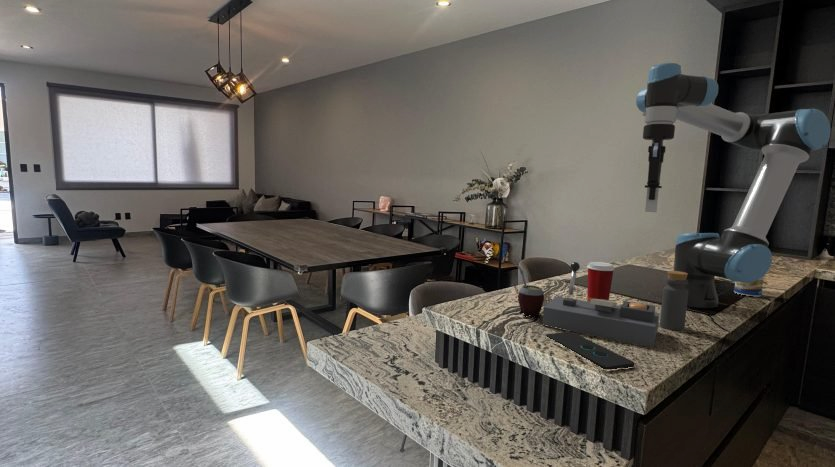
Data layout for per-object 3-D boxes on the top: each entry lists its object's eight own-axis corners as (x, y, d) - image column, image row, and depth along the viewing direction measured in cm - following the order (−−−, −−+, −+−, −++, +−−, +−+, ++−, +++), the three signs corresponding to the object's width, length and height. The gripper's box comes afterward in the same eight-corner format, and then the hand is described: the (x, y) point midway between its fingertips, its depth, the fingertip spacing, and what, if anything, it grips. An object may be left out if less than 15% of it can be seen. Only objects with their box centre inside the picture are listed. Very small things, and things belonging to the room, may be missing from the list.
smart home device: (605, 366, 92) (544, 333, 110) (604, 374, 92) (543, 340, 111) (636, 362, 95) (572, 330, 113) (636, 370, 95) (571, 337, 113)
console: (556, 313, 132) (558, 287, 131) (657, 331, 119) (660, 303, 118) (542, 325, 120) (544, 297, 120) (653, 347, 107) (656, 316, 106)
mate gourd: (547, 315, 130) (550, 263, 128) (533, 321, 124) (536, 266, 122) (523, 309, 135) (527, 259, 133) (509, 315, 129) (512, 262, 127)
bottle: (687, 331, 120) (694, 275, 118) (663, 329, 121) (669, 273, 119) (679, 324, 126) (685, 271, 124) (656, 322, 127) (662, 269, 125)
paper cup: (611, 308, 140) (615, 263, 138) (610, 315, 133) (614, 267, 131) (584, 304, 143) (587, 260, 141) (581, 310, 136) (585, 264, 134)
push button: (629, 310, 118) (630, 301, 117) (646, 313, 115) (647, 304, 115) (627, 314, 114) (628, 305, 114) (645, 317, 112) (646, 308, 112)
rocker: (596, 303, 124) (597, 298, 124) (616, 306, 122) (617, 301, 122) (590, 303, 116) (590, 298, 116) (611, 307, 113) (612, 301, 113)
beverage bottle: (760, 294, 167) (767, 239, 165) (763, 299, 160) (770, 242, 158) (732, 290, 172) (739, 237, 169) (733, 294, 164) (740, 239, 162)
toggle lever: (567, 294, 125) (572, 262, 127) (576, 295, 124) (581, 263, 125) (565, 293, 123) (570, 260, 125) (574, 294, 122) (579, 261, 123)
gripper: (646, 127, 131) (638, 210, 134) (641, 121, 120) (633, 211, 123) (676, 126, 127) (667, 211, 130) (674, 120, 116) (664, 213, 119)
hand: (650, 211), depth 127 cm, fingers closed
